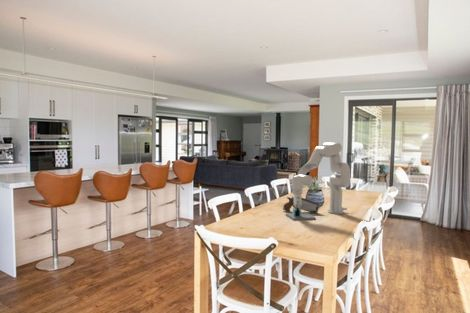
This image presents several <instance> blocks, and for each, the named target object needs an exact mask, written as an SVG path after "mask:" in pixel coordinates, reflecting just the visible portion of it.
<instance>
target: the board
mask: <svg viewBox="0 0 470 313" xmlns="http://www.w3.org/2000/svg"><path fill="white" fill-rule="evenodd" d="M285 216H286V217H287V218H289V219H291V220H292V221H312V220H313V221H314V220H316V219H317V217H315V216H314V215H312V214H310V213H308V212H301V216H293V212H287V213H285Z"/></svg>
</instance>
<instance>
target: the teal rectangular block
mask: <svg viewBox="0 0 470 313" xmlns="http://www.w3.org/2000/svg"><path fill="white" fill-rule="evenodd" d="M295 211H296V208H294V207H292V213H293V216H295ZM301 213H302V210H301V209H300V216H301Z"/></svg>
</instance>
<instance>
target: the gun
mask: <svg viewBox="0 0 470 313" xmlns="http://www.w3.org/2000/svg"><path fill="white" fill-rule="evenodd" d="M286 198H287V200H288V202H286V203H284V205H283V207H282V210H283V211H286V212H287V213H291V209H292V208H294V196H292V197H289V196H287V197H286ZM300 209H301V211H304V212H307V213H308V212H309V213H311V214H317V213H318V212H319V209H320V204H319V203H318V202H316V201H312V200H310V199H307V198H303V197H302V207H300Z"/></svg>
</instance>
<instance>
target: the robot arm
mask: <svg viewBox="0 0 470 313" xmlns="http://www.w3.org/2000/svg"><path fill="white" fill-rule="evenodd" d="M342 150H343V146H342V144H341V143H340V142H333V141H332V142H331V141H328V142H327V141H326V142H324V143H322V145H317V146H316V147H315V148H314V149H313V151H312V153H311V156H310V158H309V159H308V161H307V162H306V163H305V164H304V165H302V166H301V167H300V169H299V170H298V172H297V174H296V175H293V177H292V194H293V197H294V207H293V208H296V211H295V216H300V207H302V198H303V197H302V195H303V188H304V187H303V186H309V185H312V184H313V182H314V179H313V177H312V176H311V175H307V173H308V172H309V171H311V170H312V171H313V170H315V169H316V168H318V167H319V166H320V163H321V161H322V159H323V158H329V164H330V166H329V167H330V171H331V173H332V175H331V176H330V177H329V187H330V192H329V194H330V195H329V196H330V197H329V209H328V210H327V213H329V214H334V215H335V214H336V215H343V214H344V211H348V207H343V189H342V188H344V189H345V188H346V189H347V188H349V186H350V185H351V169H350V168H351V167H350V165H349V164H348V163H347V162H343V161H342V160H341V159H342V158H341V154H340V152H342ZM333 173H334V174H333Z"/></svg>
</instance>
